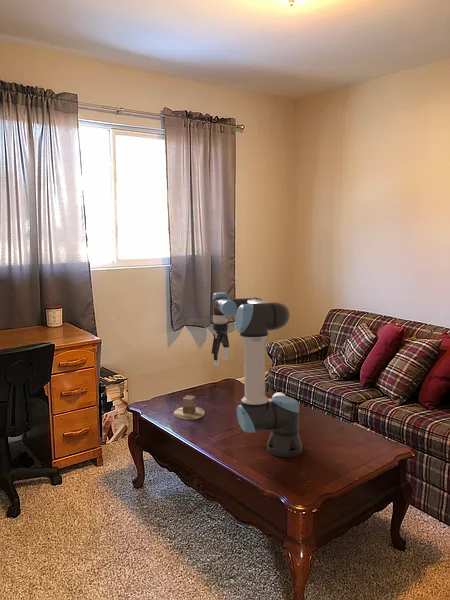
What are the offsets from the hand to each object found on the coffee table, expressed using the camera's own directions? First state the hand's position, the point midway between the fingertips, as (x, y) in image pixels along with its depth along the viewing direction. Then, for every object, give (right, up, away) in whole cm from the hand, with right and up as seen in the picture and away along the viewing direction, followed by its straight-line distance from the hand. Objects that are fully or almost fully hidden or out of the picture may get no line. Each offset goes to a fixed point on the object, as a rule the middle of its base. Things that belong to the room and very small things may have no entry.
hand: (220, 362), depth 255 cm
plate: (-16, -26, -1) cm, 31 cm away
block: (-16, -25, -1) cm, 30 cm away
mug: (+29, -26, +5) cm, 39 cm away
